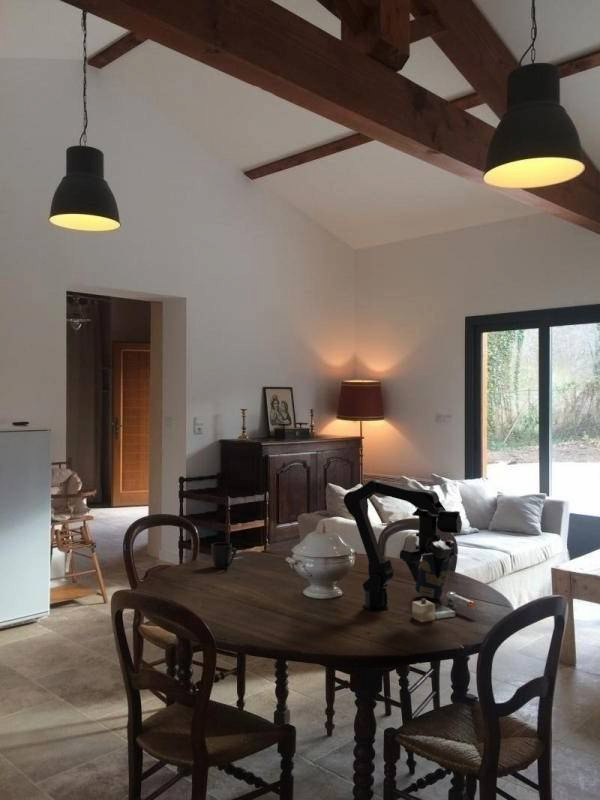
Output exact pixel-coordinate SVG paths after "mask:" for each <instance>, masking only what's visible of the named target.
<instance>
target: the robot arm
mask: <svg viewBox="0 0 600 800" xmlns="http://www.w3.org/2000/svg"><path fill="white" fill-rule="evenodd" d="M375 494H380V495H383V496H387V497H391V498H394V499H397V500H401V501H404V502H407V503H409V504H411V505H412V506H414V507H416V510H415V511H413V513H412V512H411V514H412V516H413V517H418V532H415V537H418V545H415V549H412V548H405V549H401V550H400V551H399V559H401V560H402V562H405V563H406V566H407V567H408V570H409V571H410V573H411V576H412V578H413V580H414V582H415V583H416V582H418V578H419V568H420V565H421V563H422V562H421V561H422V557H423V556H428V555H433V560H434V567H435V574H436V578H440V575H441V572H442V570H443V567H444V564H445V562H446V561H447V560H448V559H450V558H451V559H452V557H454V556H455V543H454V541H452V540H446V541H445V540H444V541H442V539H441V536H440V534H438V530H439V531H440V532H441V533H450V534H458V535H459V534H460V533H461V531H462V529H463V528H462V527H463V521H462V516H461V515H460V514H461V512H460V511H458V510H455V511H452V510H451V511H450V510H446V508H445V506H444V505H443V503H442V502H441V501H440V496H439V494H438V493H437V492H436V491H435V490H430V489H415V488H414V489H413V488H410V487H409V488H408V487H405V486H401V485H397V484H393V483H390V482H385V481H381V480H380V479H372V480H369V481H368V483H366V484H364V485H363V486H361V487H358V488H357V489H356V490H351V491H348V492H346V493H345V494H344V497H343V504H344V506H345V509H346V510H347V512H348V513H349V515H351V516H352V518H353V520H354V521H355V524H356V527H357V530H358V533H359V535H360V540H361V543H362V545H363V548H364V552H365V554H366V556H367V561H368V562H367V563H368V567H367V570H368V571H367V572H368V579H367V580H366V581H365V582H364V583H363V584H362V587H363V590H364V594H365V595H364V599H365V600H364V603H363V604H362V606H363V607H364V608H366V609H368V610H369V611H371V612H373V611H381V610H382V611H383V610H389V609H390V608H389V607H390V606H388V593H387V589H386V587H388V584H389V583H390V582H391V581H392V580H393V577H394V571H395V569H394V568H393V566H392V562H391V559H386V558H384V556H383V555H382V552H381V548H380V547H379V543H378V540H377V537H376V534H375V531H374V529H373V526H372V522H371V520H370V517H369V501H368V499H370V498H371V497H373V496H374V495H375Z"/></svg>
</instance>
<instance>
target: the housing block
mask: <svg viewBox="0 0 600 800" xmlns="http://www.w3.org/2000/svg"><path fill="white" fill-rule="evenodd" d="M411 603H412V610H411V611H412V612H411V613H412V617H411V618H413V619H414V620H416V621H419V622H421V623H424V622H429V621H435V620H436V618H435V605H436V604H435V603H433V602H431V601H429V600H427V599H426V598H421V599H420V600H416V601H415V600H414V601H412V602H411Z"/></svg>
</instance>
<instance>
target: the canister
mask: <svg viewBox="0 0 600 800" xmlns="http://www.w3.org/2000/svg"><path fill="white" fill-rule="evenodd" d="M451 560H452V557H451V558H450V559H448V560H447V561H446V562H445V564H444V567H443V570H442V572H441V575H440V578H436V574H435V567H434V560H433V555H428V556H422V557H421V560H420V561H421V562H422V563H421V564H420V565H419V578H418V582H415V585H414V591H415V592H416V593H418V594H420V595H421V596H424V597H427V598H430V599H439V598H441V597H442V595H443V591H444V587H445V583H446V579H447V576H448V572H449V567H450V564H451Z"/></svg>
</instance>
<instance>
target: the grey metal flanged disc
mask: <svg viewBox="0 0 600 800" xmlns="http://www.w3.org/2000/svg"><path fill="white" fill-rule="evenodd" d="M455 603H456V602H455V601H453V600H447V599H446V604H444V607H446V608H448V609H450V610H457V609H458V605H457V604H455Z"/></svg>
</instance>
